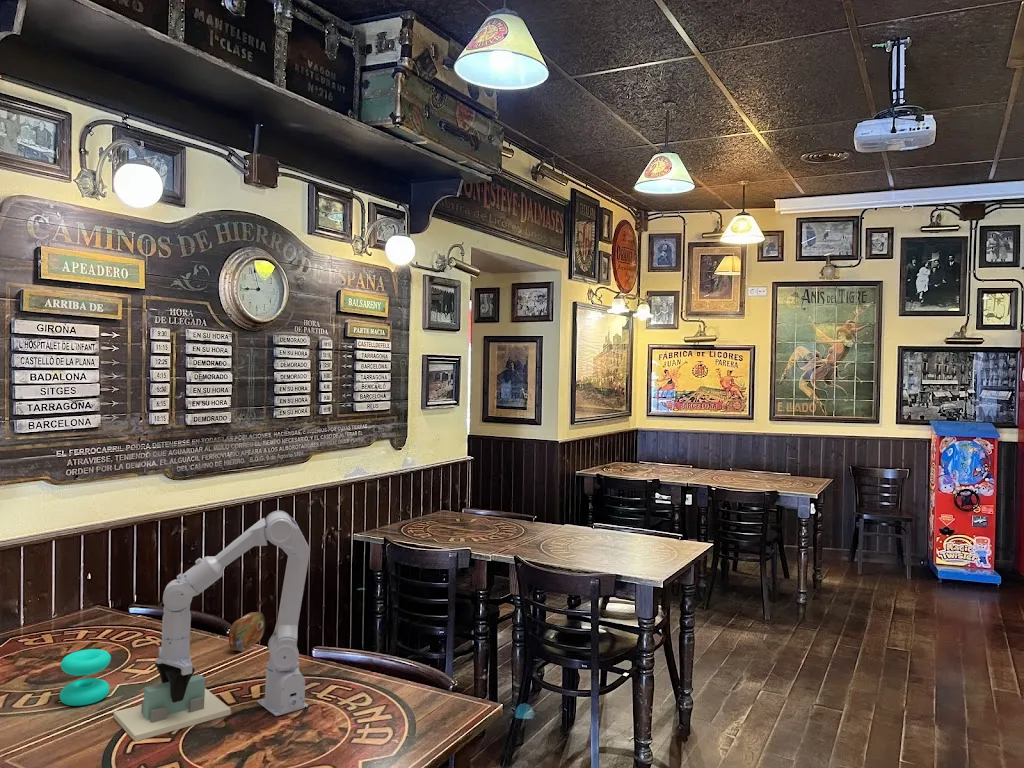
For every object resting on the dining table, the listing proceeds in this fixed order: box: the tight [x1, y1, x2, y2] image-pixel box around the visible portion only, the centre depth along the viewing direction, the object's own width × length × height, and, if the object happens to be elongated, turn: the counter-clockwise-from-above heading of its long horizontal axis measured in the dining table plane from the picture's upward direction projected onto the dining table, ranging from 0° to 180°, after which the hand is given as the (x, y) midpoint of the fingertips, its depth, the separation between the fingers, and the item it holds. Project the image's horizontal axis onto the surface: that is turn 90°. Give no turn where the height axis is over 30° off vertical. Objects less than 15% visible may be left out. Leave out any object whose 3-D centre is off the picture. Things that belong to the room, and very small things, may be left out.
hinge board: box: [112, 688, 232, 742], centre depth 164 cm, size 14×20×4 cm
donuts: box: [59, 648, 112, 707], centre depth 171 cm, size 10×10×10 cm
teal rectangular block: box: [143, 673, 206, 720], centre depth 165 cm, size 3×12×6 cm, turn 134°
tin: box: [228, 611, 266, 652], centre depth 208 cm, size 15×3×8 cm, turn 168°
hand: (173, 697), depth 164 cm, fingers open, 4 cm apart
